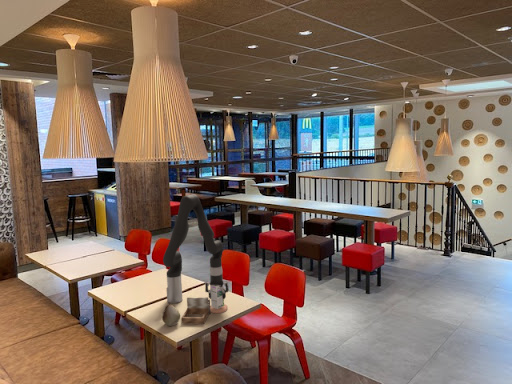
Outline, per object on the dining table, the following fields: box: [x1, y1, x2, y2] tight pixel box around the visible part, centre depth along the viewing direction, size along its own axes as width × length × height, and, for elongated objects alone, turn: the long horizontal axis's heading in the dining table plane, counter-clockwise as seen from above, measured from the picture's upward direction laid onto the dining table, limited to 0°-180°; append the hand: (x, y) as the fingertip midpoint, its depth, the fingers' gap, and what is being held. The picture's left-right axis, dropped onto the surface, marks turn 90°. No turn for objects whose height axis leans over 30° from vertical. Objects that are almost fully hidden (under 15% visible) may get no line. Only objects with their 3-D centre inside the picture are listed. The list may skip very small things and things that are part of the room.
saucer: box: [210, 303, 229, 314], centre depth 237 cm, size 12×12×1 cm
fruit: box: [161, 302, 181, 327], centre depth 218 cm, size 10×9×12 cm
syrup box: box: [209, 284, 225, 309], centre depth 236 cm, size 6×6×14 cm
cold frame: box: [180, 296, 212, 325], centre depth 225 cm, size 14×14×10 cm
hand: (217, 298), depth 236 cm, fingers closed on syrup box, 8 cm apart
